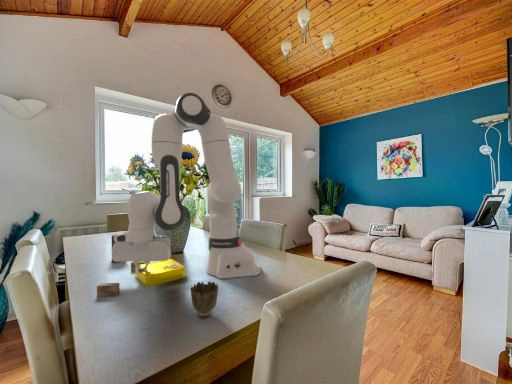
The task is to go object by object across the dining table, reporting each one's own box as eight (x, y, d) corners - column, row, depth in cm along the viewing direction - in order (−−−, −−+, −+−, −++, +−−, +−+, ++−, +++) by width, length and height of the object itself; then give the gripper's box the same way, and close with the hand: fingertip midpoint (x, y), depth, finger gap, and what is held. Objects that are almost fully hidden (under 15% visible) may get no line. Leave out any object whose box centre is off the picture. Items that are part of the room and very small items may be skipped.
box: (112, 262, 111) (111, 236, 110) (111, 260, 114) (111, 234, 114) (127, 260, 114) (126, 235, 114) (126, 258, 118) (125, 233, 117)
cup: (219, 308, 70) (219, 280, 70) (216, 322, 63) (216, 292, 63) (193, 308, 70) (193, 281, 70) (187, 323, 63) (187, 292, 62)
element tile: (171, 268, 106) (171, 257, 105) (186, 277, 94) (186, 265, 94) (133, 276, 96) (133, 264, 95) (146, 288, 84) (146, 275, 84)
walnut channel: (147, 269, 103) (147, 261, 102) (116, 296, 78) (116, 285, 78) (133, 269, 102) (133, 261, 102) (96, 296, 77) (96, 285, 77)
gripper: (173, 233, 93) (173, 269, 94) (118, 233, 92) (118, 269, 93) (167, 236, 87) (168, 275, 87) (109, 237, 86) (109, 276, 87)
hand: (142, 272), depth 90 cm, fingers closed
